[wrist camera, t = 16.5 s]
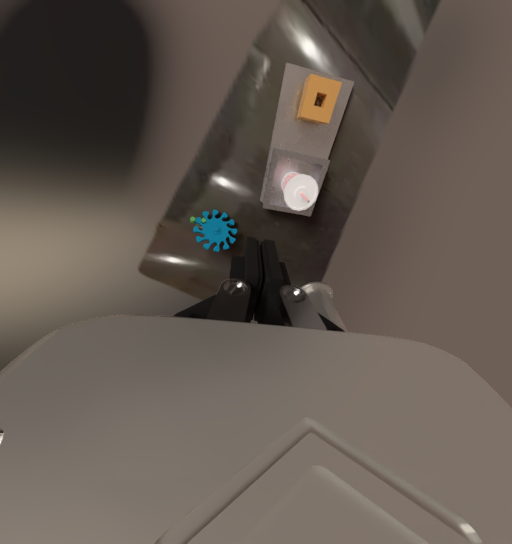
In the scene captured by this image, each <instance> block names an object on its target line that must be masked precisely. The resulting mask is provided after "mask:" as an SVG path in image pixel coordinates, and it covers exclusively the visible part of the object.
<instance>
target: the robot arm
mask: <svg viewBox="0 0 512 544" xmlns="http://www.w3.org/2000/svg"><path fill="white" fill-rule="evenodd" d="M332 298H333V291H332V289H331V287H330V286H329V285H327V284H326V283H323V282H310V283H307V284H305V285H303V286H301V287H300V288H299V287H296V286H293V285H291V283H290V280H289V276H288V273H287V269H286V266H285V263H284V262H279V258H278V254H277V250H276V246H275V242H274V241H273V240H266V239H265V241H261V245H259V241H257V240H256V238H253V237H247V240H246V246H245V252H244V257H242V256H235V255H232V263H231V270H230V278H229V279H227V280H225V281H223V282H222V284H221V285H220V288H219V290H218V292H217V294H216V295H214V296H212V297H210V298H208V299H206V300H203V301H201V302H199V303H197V304H195V305H193V306H191V307H189V308H187V309H185V310H183V311H181V312H179V313H177V314H175V315H174V316H162V315H144V314H129V315H128V314H127V315H126V314H125V315H113V316H105V317H98V318H93V319H87V320H83V321H79V322H76V323H73V324H70V325H67V326H64V327H62V328H59V329H58V330H55V331H54V332H52V333H50V334H48V335H47V336H45V337H44V338H42V339H41V340H39V341H38V342H36V343H35V344H34V345H32V346H31V347H30V348H28V349H27V350H26V351H24V352H23V353H22V354H21V355H20V356H18V357H17V358H16V359H15V360H13V361H12V362H11V363H10V364H9V365H7V366H6V367H5V368H4V369H3V370H2V371H1V372H0V544H512V408H511V407H510V406H509V405H508V404H507V403H506V402H505V401H504V400H503V399H502V398H501V397H500V396H499V395H498V394H497V393H496V392H495V391H494V390H493V389H492V388H491V387H490V386H489V385H488V384H487V383H486V382H485V381H484V380H483V379H482V378H481V377H480V376H479V375H478V374H477V373H476V372H475V371H473V370H472V369H471V368H470V367H469V366H468V365H467V364H465V363H464V362H463V361H462V360H460V359H459V358H457V357H455V356H453V355H451V354H449V353H447V352H445V351H443V350H441V349H438V348H436V347H433V346H431V345H428V344H424V343H421V342H418V341H413V340H408V339H403V338H396V337H388V336H380V335H370V334H360V333H351V332H348V331H347V330H346V328H345V326H344V324H343V322H342V320H341V318H340V316H339V314H338V312H337V311H336V308H335V306H334V304H333V302H332ZM253 315H254V320H255V321H258V324H256V323H250V322H251V320H252V319H253Z"/></svg>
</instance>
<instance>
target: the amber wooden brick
mask: <svg viewBox="0 0 512 544" xmlns="http://www.w3.org/2000/svg"><path fill="white" fill-rule="evenodd" d="M341 84H342V82H339V81H335V80H332V79H328V78H325V77H321V76H317V75H314V74H310V75H309V76H308V77H307V78H306V81H305V85H304V89H303V93H302V98H301V102H300V106H299V110H298V114H297V118H299V119H303V120H307V121H311V122H315V123H319V124H329V122H330V118H331V115H332V112H333V109H334V106H335V103H336V100H337V96H338V93H339V90H340V87H341ZM316 97H320V98H321V103H320V104H319V107H318V106H314V103H315V100H316Z"/></svg>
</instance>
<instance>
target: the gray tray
mask: <svg viewBox="0 0 512 544" xmlns="http://www.w3.org/2000/svg"><path fill="white" fill-rule="evenodd" d="M310 74H314V75H317V76H321V77H325V78H328V79H332V80H335V81H339V82H342V84H341V87H340V90H339V93H338V96H337V100H336V103H335V106H334V109H333V112H332V115H331V118H330V122H329V124H319V123H315V122H311V121H307V120H303V119H299V118H297V114H298V110H299V106H300V102H301V98H302V93H303V89H304V85H305V81H306V78H307V77H308V76H309V75H310ZM353 84H354V82H353V81H350V80H346V79H342V78H339V77H335V76H332V75H328V74H325V73H321V72H318V71H314V70H311V69H307V68H304V67H300V66H297V65H293V64H290V63H286V64H285V68H284V73H283V78H282V84H281V89H280V94H279V100H278V105H277V110H276V116H275V121H274V126H273V132H272V137H271V142H270V148H269V153H268V159H267V164H266V169H265V175H264V180H263V185H262V191H261V196H260V201H261V202H262V208H265V209H271V210H277V211H283V212H288V213H294V214H300V215H305V216H311V214H312V211H313V208H314V206H315V203H316V201H315V202H314V203H313V204H312V205H311V206H310V207H309V208H307V209H305V210H301V211H297V210H292V209H291V208H290V207H288V206H287V204H286V202H285V200H284V193H283V190H282V187H281V182H282V179H283V178H284V176H285V175H286V174H288V173H290V172H296V173H299V174H305V175H309V176H311V177H312V178H313V179H314V180H316V183H317V185H318V194H319V191H320V189H321V186H322V183H323V180H324V177H325V174H326V172H327V169H328V166H329V163H330V160H328V157H329V154H330V151H331V148H332V145H333V142H334V139H335V136H336V134H337V131H338V128H339V125H340V122H341V119H342V116H343V113H344V110H345V107H346V105H347V102H348V99H349V96H350V93H351V90H352V87H353ZM320 103H321V98H320V97H316V100H315V103H314V106H318V107H319V104H320ZM317 197H318V196H317ZM316 200H317V198H316Z"/></svg>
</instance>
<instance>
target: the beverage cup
mask: <svg viewBox="0 0 512 544" xmlns="http://www.w3.org/2000/svg"><path fill="white" fill-rule="evenodd" d="M281 187H282V190H283V193H284V200H285V202H286V204H287V206H288V207H290V208H291V209H292V210H297V211H301V210H305V209H307V208H309V207H310V206H311V205H312V204H313V203H314V202H315V201H316V198H317V196H318V185H317V183H316V180H314V179H313V178H312V177H311V176H309V175H305V174H299V173H296V172H290V173H288V174H286V175H285V176H284V178H283V179H282V182H281Z"/></svg>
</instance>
